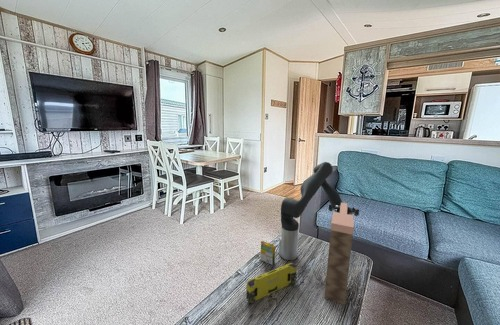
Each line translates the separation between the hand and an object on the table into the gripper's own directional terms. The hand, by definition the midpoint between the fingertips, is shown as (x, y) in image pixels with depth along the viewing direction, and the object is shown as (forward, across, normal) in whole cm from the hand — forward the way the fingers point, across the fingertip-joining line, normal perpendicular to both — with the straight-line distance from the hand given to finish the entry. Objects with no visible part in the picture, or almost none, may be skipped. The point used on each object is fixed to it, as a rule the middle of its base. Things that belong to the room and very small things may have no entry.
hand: (343, 207), depth 103 cm
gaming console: (+9, -25, +44) cm, 52 cm away
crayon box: (-8, -35, +34) cm, 49 cm away
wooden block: (-2, 0, +37) cm, 37 cm away
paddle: (+10, 0, +7) cm, 12 cm away
